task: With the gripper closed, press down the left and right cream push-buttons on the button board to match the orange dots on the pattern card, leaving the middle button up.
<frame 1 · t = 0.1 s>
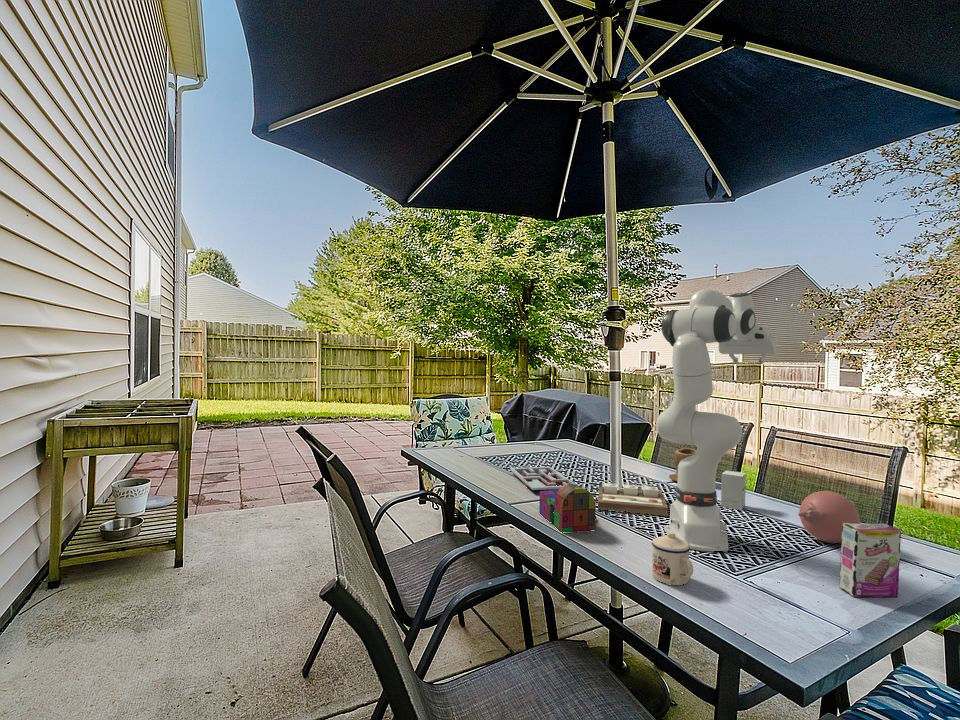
hand: (748, 362, 201), 54 cm above the table, tool tilted 30°, fingers open, 8 cm apart
red onion: (822, 542, 154), on the table
maze game: (542, 484, 220), on the table
right button: (650, 491, 193), point 4 cm above the table, slide at 0.0 cm
block puzzle: (569, 520, 173), on the table
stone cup: (687, 482, 226), on the table
candy bar box: (868, 594, 121), on the table
left button: (610, 488, 197), point 4 cm above the table, slide at 0.0 cm
button board: (630, 504, 190), on the table
teacup with lid: (674, 581, 126), on the table
supplement box: (733, 506, 190), on the table
middle button: (630, 490, 195), point 4 cm above the table, slide at 0.0 cm
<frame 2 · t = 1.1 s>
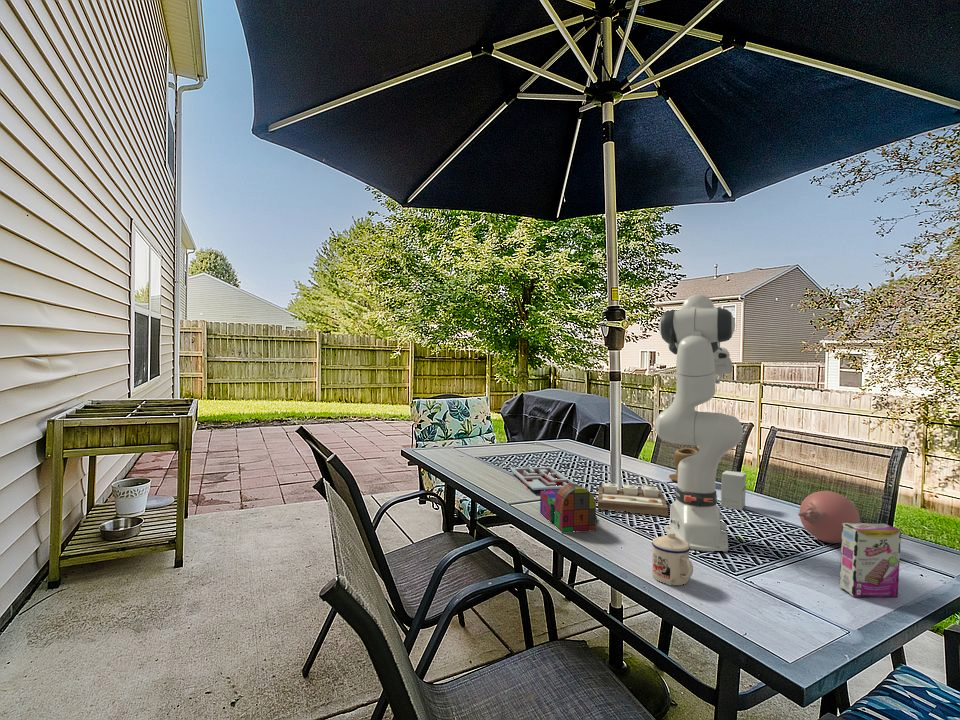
hand: (705, 383, 209), 45 cm above the table, tool tilted 20°, fingers open, 8 cm apart
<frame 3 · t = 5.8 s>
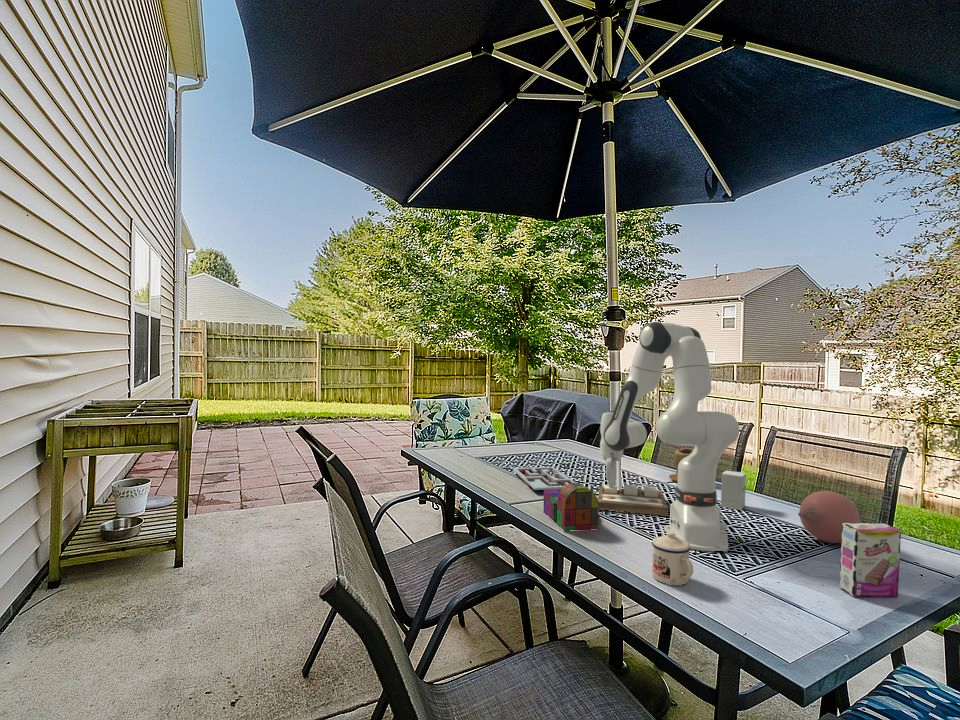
hand: (610, 486, 197), 5 cm above the table, tool pointing down, fingers closed, pressing on left button
block puzzle: (573, 519, 174), on the table
left button: (610, 490, 197), point 3 cm above the table, slide at 0.8 cm, touching gripper
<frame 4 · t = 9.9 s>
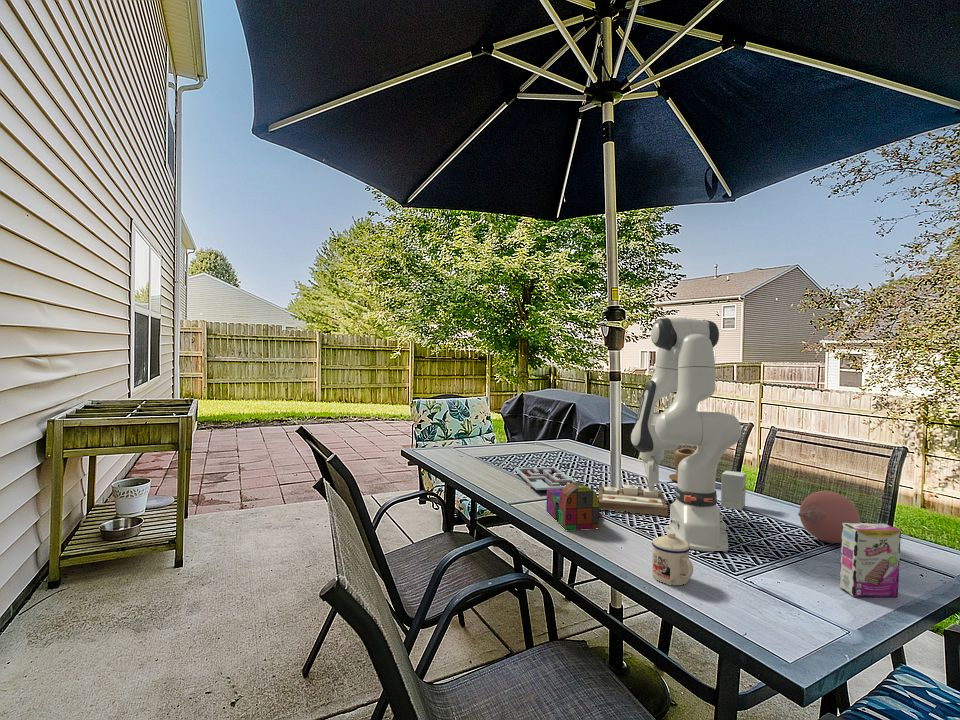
hand: (651, 489, 194), 5 cm above the table, tool pointing down, fingers closed, pressing on right button
right button: (650, 493, 193), point 3 cm above the table, slide at 0.8 cm, touching gripper
block puzzle: (575, 518, 175), on the table
left button: (610, 492, 197), point 3 cm above the table, slide at 1.5 cm, touching button board
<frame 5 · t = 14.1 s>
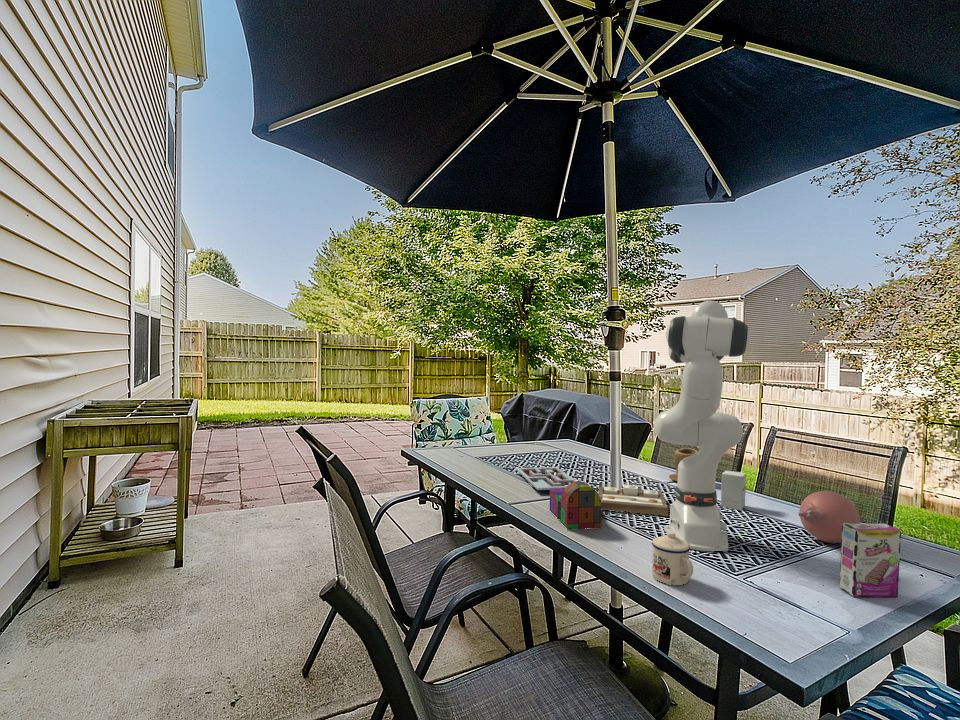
hand: (705, 408, 189), 37 cm above the table, tool pointing down, fingers closed
right button: (650, 495, 193), point 3 cm above the table, slide at 1.5 cm, touching button board
block puzzle: (578, 517, 175), on the table
at the end: left button slide at 1.5 cm; right button slide at 1.5 cm; middle button slide at 0.0 cm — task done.
